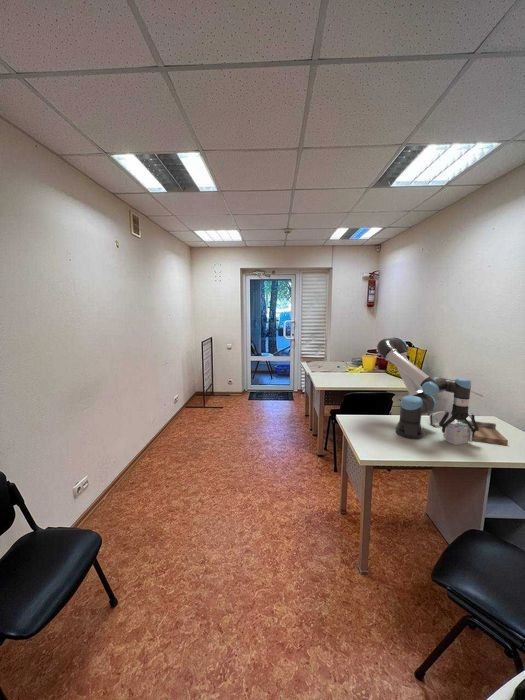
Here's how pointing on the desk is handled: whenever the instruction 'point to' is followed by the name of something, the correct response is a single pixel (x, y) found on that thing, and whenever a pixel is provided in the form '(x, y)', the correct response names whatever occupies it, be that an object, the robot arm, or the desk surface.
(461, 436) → the light bulb box
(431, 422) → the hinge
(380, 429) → the desk surface
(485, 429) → the walnut stand
